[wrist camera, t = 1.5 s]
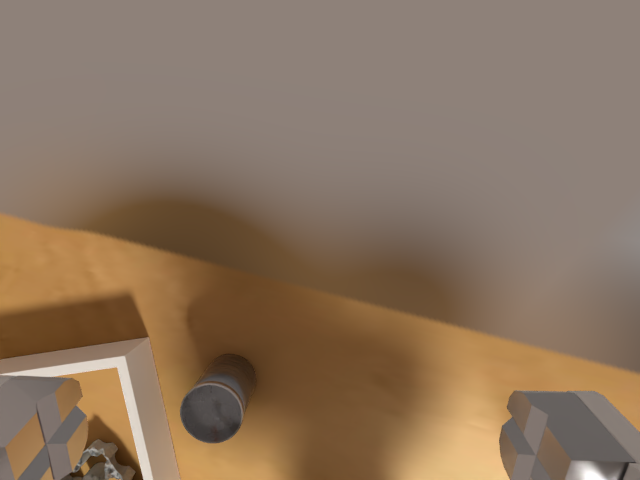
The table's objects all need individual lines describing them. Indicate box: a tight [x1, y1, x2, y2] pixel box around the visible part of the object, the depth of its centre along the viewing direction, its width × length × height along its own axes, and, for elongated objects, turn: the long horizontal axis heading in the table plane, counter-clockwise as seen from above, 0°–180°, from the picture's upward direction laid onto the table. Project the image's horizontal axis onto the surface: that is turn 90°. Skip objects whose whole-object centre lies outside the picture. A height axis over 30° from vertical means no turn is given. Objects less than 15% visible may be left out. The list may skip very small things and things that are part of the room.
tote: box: [0, 337, 181, 480], centre depth 42 cm, size 24×17×5 cm
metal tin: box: [180, 354, 256, 443], centre depth 40 cm, size 6×6×7 cm
